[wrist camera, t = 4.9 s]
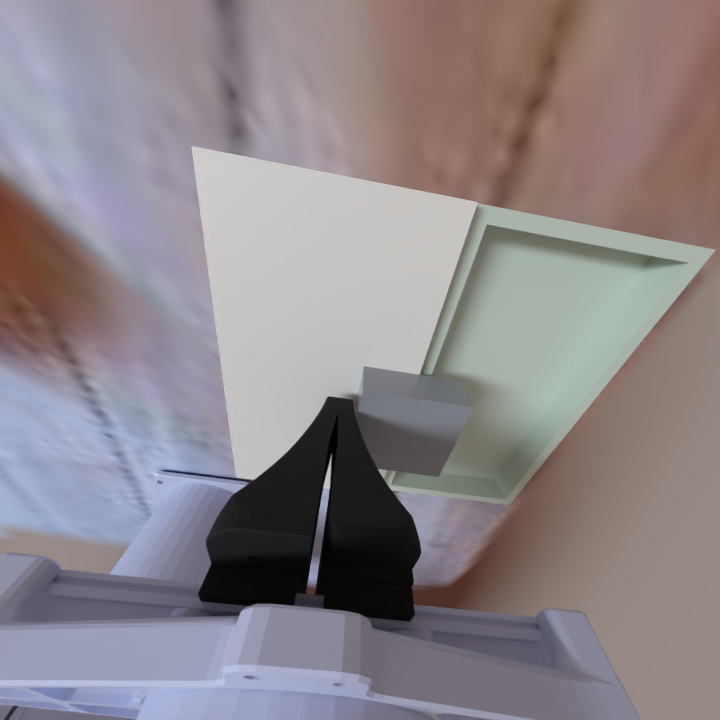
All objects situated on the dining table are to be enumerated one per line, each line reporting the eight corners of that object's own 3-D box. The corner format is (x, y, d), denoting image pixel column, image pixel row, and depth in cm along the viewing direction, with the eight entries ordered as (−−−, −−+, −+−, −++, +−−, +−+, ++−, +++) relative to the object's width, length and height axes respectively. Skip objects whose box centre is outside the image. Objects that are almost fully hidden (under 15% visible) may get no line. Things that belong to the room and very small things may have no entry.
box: (497, 480, 21) (509, 505, 19) (380, 465, 20) (380, 488, 19) (665, 243, 12) (715, 249, 10) (461, 204, 11) (478, 203, 10)
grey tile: (431, 447, 16) (438, 477, 14) (349, 436, 15) (347, 464, 14) (460, 380, 13) (474, 407, 11) (363, 366, 13) (362, 390, 11)
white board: (377, 465, 20) (378, 495, 18) (250, 448, 20) (236, 477, 18) (457, 203, 11) (477, 202, 9) (227, 158, 11) (191, 146, 9)
